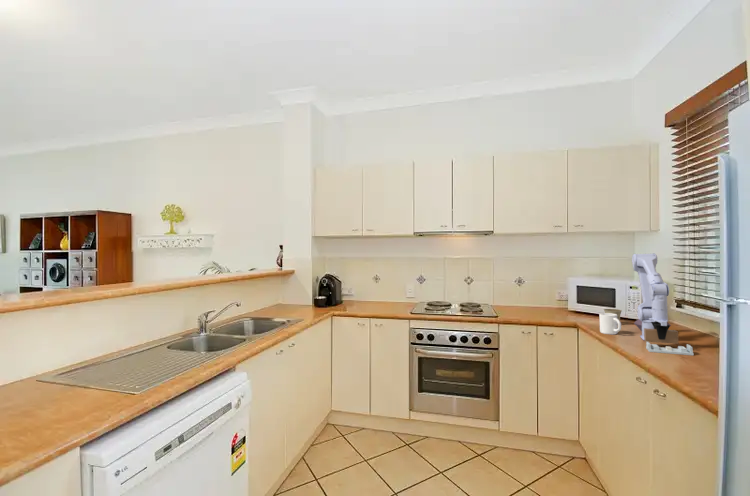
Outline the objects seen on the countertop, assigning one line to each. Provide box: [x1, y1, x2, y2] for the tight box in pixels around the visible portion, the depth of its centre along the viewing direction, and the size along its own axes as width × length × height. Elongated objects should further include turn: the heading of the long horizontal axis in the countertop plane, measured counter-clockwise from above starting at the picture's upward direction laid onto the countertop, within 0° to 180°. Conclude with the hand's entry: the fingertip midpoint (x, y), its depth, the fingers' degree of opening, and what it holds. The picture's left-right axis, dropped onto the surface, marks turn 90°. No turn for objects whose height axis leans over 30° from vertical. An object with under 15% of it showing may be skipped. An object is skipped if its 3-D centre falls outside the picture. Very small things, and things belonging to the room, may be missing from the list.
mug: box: [598, 312, 622, 336], centre depth 194 cm, size 12×8×10 cm
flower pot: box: [603, 308, 623, 322], centre depth 219 cm, size 9×9×9 cm
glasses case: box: [643, 328, 679, 345], centre depth 167 cm, size 4×12×6 cm, turn 63°
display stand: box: [645, 341, 694, 356], centre depth 158 cm, size 7×15×3 cm, turn 62°
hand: (660, 338), depth 167 cm, fingers closed on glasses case, 4 cm apart
